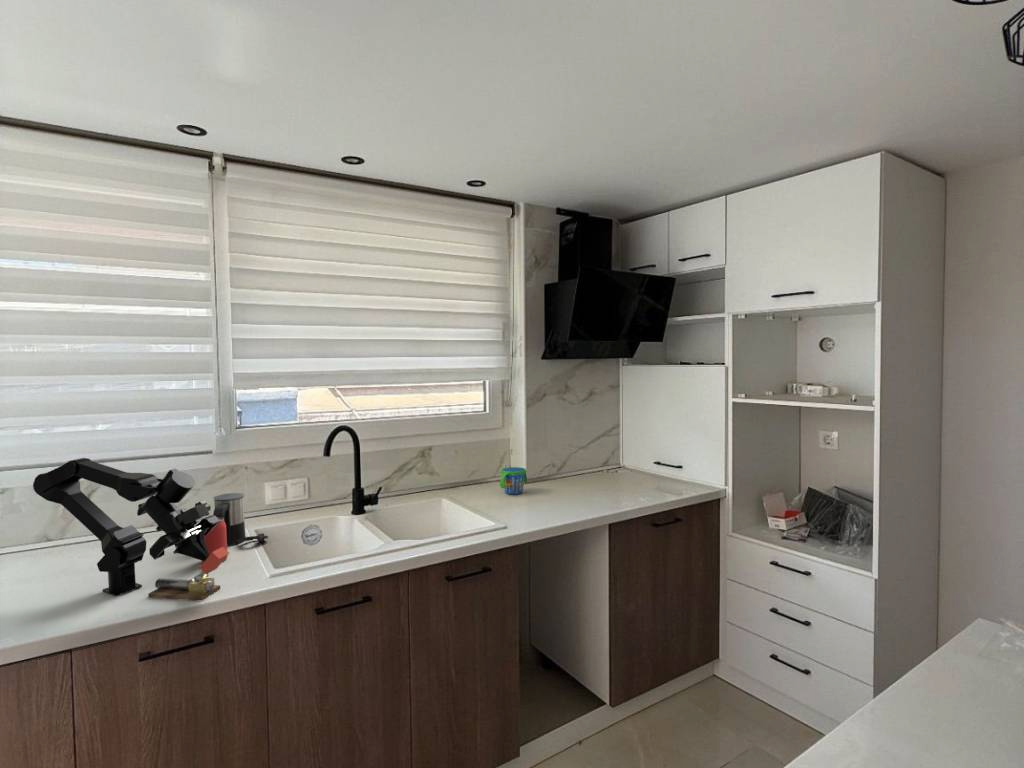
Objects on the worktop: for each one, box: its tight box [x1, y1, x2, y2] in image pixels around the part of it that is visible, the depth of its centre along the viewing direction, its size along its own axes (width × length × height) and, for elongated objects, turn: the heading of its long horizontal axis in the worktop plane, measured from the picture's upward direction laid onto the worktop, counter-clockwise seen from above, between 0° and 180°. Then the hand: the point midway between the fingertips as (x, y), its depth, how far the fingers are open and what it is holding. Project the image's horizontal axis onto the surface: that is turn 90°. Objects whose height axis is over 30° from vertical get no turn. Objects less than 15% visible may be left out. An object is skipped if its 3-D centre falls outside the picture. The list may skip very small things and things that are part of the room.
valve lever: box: [193, 547, 230, 582], centre depth 142 cm, size 2×4×9 cm
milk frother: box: [212, 492, 269, 546], centre depth 183 cm, size 14×16×15 cm
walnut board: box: [147, 584, 221, 601], centre depth 144 cm, size 14×7×1 cm, turn 81°
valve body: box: [154, 577, 215, 594], centre depth 144 cm, size 14×4×3 cm, turn 81°
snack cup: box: [499, 466, 528, 496], centre depth 243 cm, size 16×10×10 cm
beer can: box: [201, 517, 228, 564], centre depth 166 cm, size 7×7×12 cm
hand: (208, 560), depth 142 cm, fingers closed, pressing on valve lever
